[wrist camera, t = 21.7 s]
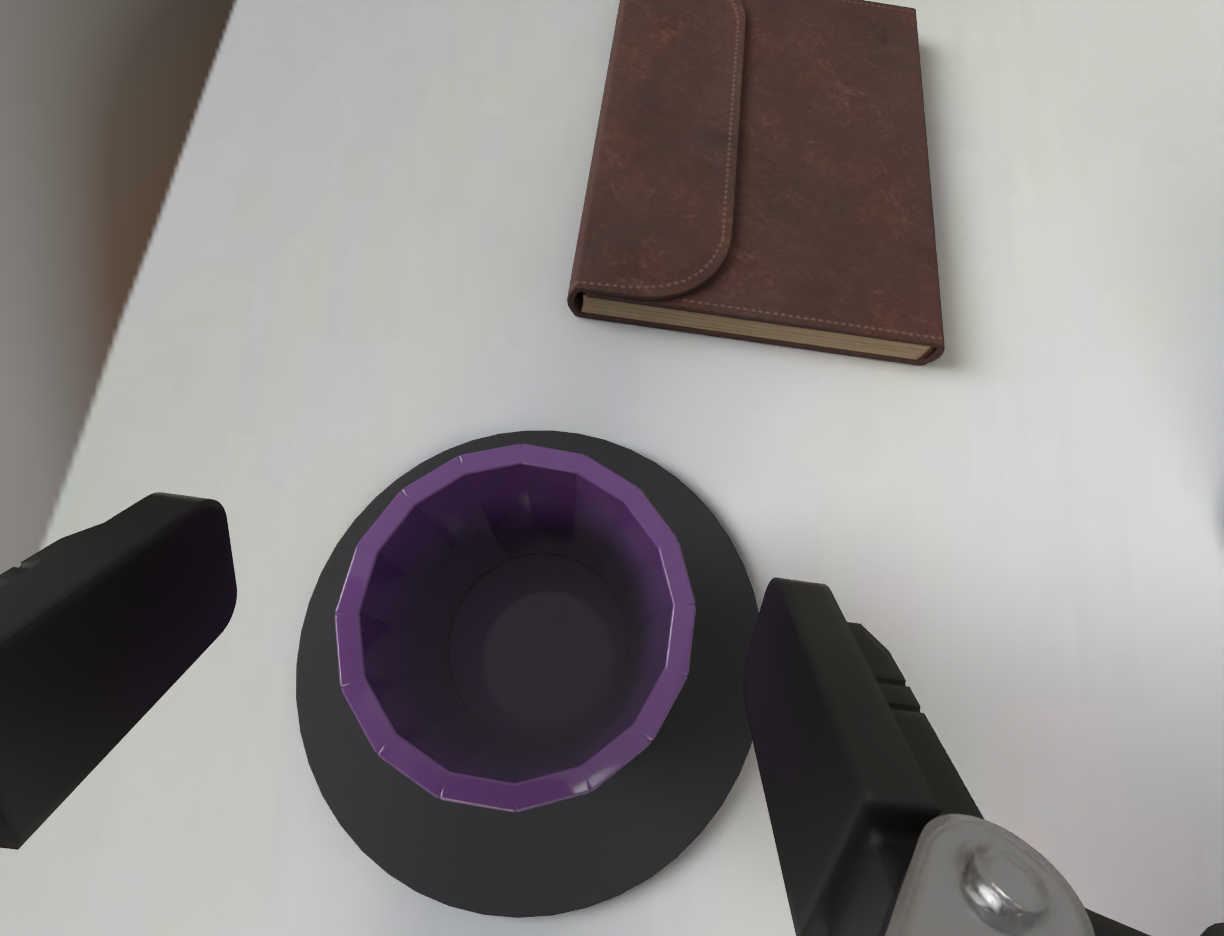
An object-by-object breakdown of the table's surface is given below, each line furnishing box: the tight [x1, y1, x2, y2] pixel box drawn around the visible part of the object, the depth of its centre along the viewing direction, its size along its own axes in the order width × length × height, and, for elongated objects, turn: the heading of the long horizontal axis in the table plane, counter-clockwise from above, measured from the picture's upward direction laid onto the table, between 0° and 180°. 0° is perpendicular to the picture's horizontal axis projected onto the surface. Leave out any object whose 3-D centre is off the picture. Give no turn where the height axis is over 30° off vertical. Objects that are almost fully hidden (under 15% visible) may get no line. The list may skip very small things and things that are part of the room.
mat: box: [296, 431, 759, 918], centre depth 20 cm, size 15×15×1 cm
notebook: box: [567, 0, 944, 365], centre depth 27 cm, size 15×20×2 cm
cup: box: [335, 444, 696, 812], centre depth 15 cm, size 6×6×9 cm
